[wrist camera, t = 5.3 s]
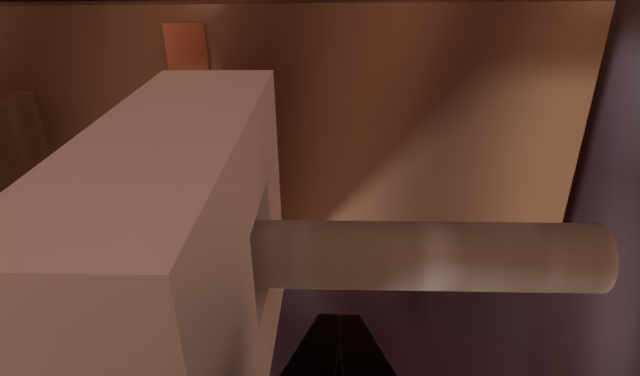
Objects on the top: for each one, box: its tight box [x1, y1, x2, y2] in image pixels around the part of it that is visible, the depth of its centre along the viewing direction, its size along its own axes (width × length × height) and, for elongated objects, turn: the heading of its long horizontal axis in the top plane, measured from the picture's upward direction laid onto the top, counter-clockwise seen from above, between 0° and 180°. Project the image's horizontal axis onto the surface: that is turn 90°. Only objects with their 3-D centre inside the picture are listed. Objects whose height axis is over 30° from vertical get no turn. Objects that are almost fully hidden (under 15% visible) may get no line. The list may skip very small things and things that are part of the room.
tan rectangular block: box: [0, 70, 284, 376], centre depth 11 cm, size 3×7×9 cm, turn 1°
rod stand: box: [0, 0, 619, 294], centre depth 14 cm, size 20×10×8 cm, turn 91°
